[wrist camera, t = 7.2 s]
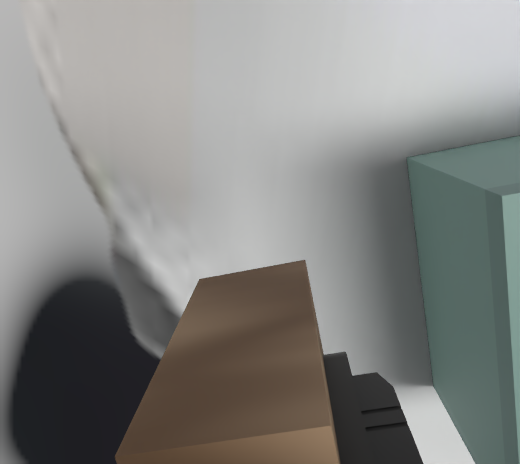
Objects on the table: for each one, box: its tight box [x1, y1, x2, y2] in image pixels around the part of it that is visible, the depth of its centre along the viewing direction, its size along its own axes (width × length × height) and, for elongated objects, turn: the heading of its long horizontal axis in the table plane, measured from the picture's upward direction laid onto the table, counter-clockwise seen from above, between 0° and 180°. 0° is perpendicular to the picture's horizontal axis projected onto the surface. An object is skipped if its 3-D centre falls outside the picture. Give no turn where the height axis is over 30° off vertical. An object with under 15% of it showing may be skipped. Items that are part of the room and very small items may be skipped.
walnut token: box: [115, 260, 341, 464], centre depth 8 cm, size 2×5×6 cm, turn 12°
